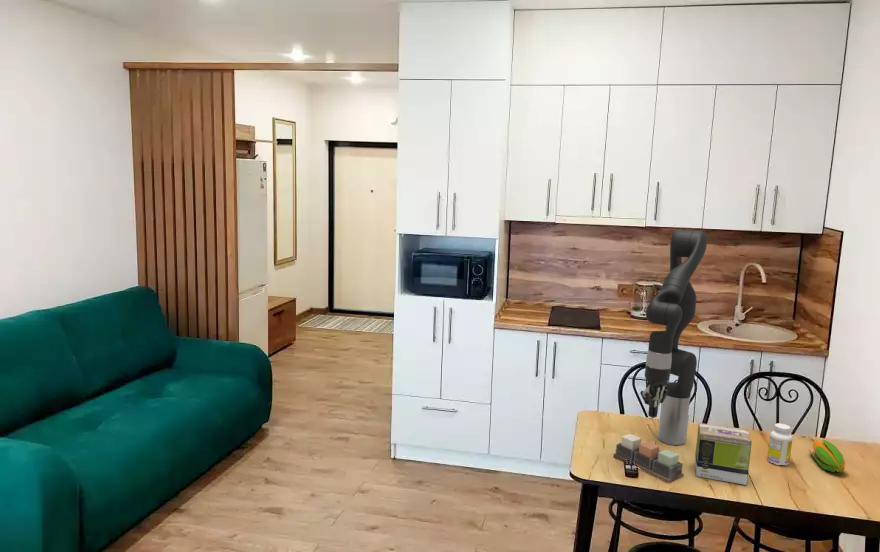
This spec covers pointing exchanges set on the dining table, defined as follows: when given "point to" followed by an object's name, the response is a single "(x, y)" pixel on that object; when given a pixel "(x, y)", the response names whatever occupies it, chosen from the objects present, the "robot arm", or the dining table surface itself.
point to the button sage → (668, 458)
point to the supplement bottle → (780, 445)
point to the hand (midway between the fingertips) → (652, 416)
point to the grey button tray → (649, 464)
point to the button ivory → (631, 441)
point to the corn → (828, 456)
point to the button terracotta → (649, 449)
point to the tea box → (723, 453)
